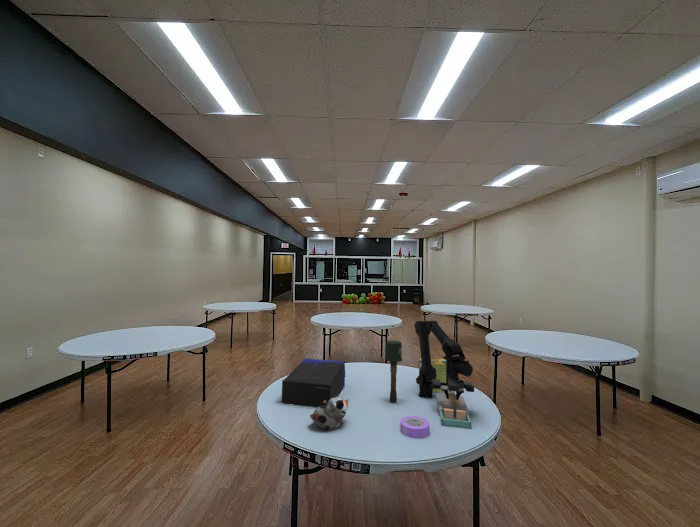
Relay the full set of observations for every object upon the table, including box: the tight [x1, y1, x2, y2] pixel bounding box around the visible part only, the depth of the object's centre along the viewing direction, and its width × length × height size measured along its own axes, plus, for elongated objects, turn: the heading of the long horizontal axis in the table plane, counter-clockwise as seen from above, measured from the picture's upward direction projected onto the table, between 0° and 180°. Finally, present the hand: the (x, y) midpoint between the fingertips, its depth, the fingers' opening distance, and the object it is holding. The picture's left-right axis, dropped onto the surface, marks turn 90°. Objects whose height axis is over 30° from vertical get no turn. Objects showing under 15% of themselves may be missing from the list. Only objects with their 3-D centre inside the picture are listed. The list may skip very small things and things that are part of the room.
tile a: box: [444, 408, 453, 420], centre depth 139 cm, size 4×4×2 cm
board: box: [435, 392, 470, 417], centre depth 151 cm, size 13×20×3 cm, turn 168°
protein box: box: [418, 358, 451, 393], centre depth 178 cm, size 10×15×16 cm
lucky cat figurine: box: [309, 396, 349, 432], centre depth 133 cm, size 15×12×14 cm
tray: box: [439, 411, 472, 430], centre depth 136 cm, size 12×9×3 cm
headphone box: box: [281, 358, 346, 408], centre depth 168 cm, size 25×35×14 cm
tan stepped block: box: [442, 391, 467, 412], centre depth 146 cm, size 10×12×4 cm
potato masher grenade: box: [385, 339, 403, 404], centre depth 158 cm, size 8×9×30 cm
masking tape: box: [399, 415, 430, 439], centre depth 128 cm, size 12×12×4 cm
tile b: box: [456, 410, 466, 421], centre depth 138 cm, size 4×4×2 cm
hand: (452, 403), depth 147 cm, fingers open, 3 cm apart
